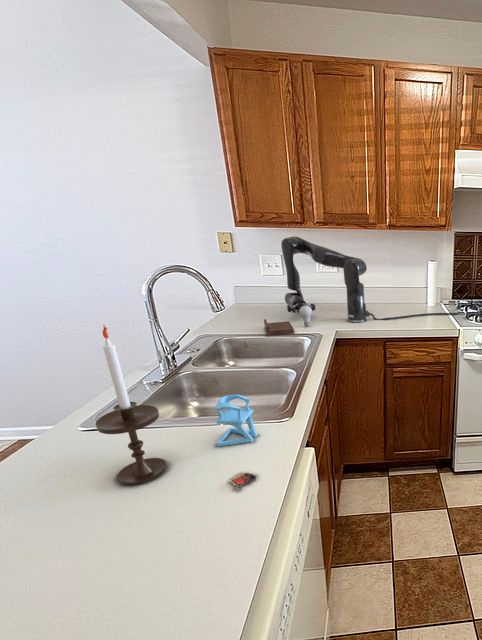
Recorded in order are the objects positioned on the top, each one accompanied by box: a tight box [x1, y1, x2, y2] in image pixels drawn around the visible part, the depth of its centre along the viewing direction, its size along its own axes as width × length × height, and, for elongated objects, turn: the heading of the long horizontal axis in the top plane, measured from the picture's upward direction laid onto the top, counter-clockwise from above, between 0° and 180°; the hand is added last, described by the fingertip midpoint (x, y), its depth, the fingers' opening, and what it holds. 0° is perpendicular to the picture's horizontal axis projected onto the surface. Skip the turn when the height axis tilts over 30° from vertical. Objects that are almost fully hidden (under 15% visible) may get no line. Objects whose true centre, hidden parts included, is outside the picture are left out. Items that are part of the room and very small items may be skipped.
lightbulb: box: [299, 306, 313, 328], centre depth 202 cm, size 6×6×11 cm
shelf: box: [263, 318, 295, 337], centre depth 195 cm, size 12×15×4 cm
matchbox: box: [229, 472, 257, 490], centre depth 88 cm, size 5×5×1 cm
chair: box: [214, 394, 258, 447], centre depth 102 cm, size 8×8×12 cm
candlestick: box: [95, 324, 168, 487], centre depth 84 cm, size 11×11×35 cm
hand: (303, 310), depth 209 cm, fingers open, 8 cm apart
